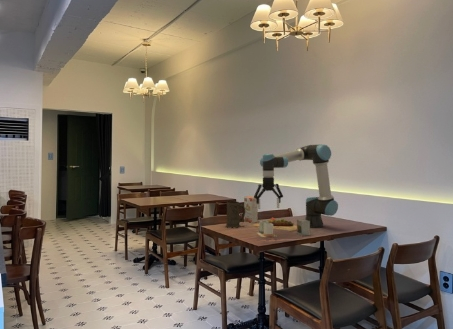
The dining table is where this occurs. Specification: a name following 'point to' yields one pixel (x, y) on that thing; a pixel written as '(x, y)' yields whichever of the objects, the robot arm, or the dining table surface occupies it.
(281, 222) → the cutting board
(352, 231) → the dining table surface
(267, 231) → the sleeve
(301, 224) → the feeder chute
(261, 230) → the seated sleeve
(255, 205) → the cracker box
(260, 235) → the pin board
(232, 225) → the beer stein
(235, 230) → the dining table surface
